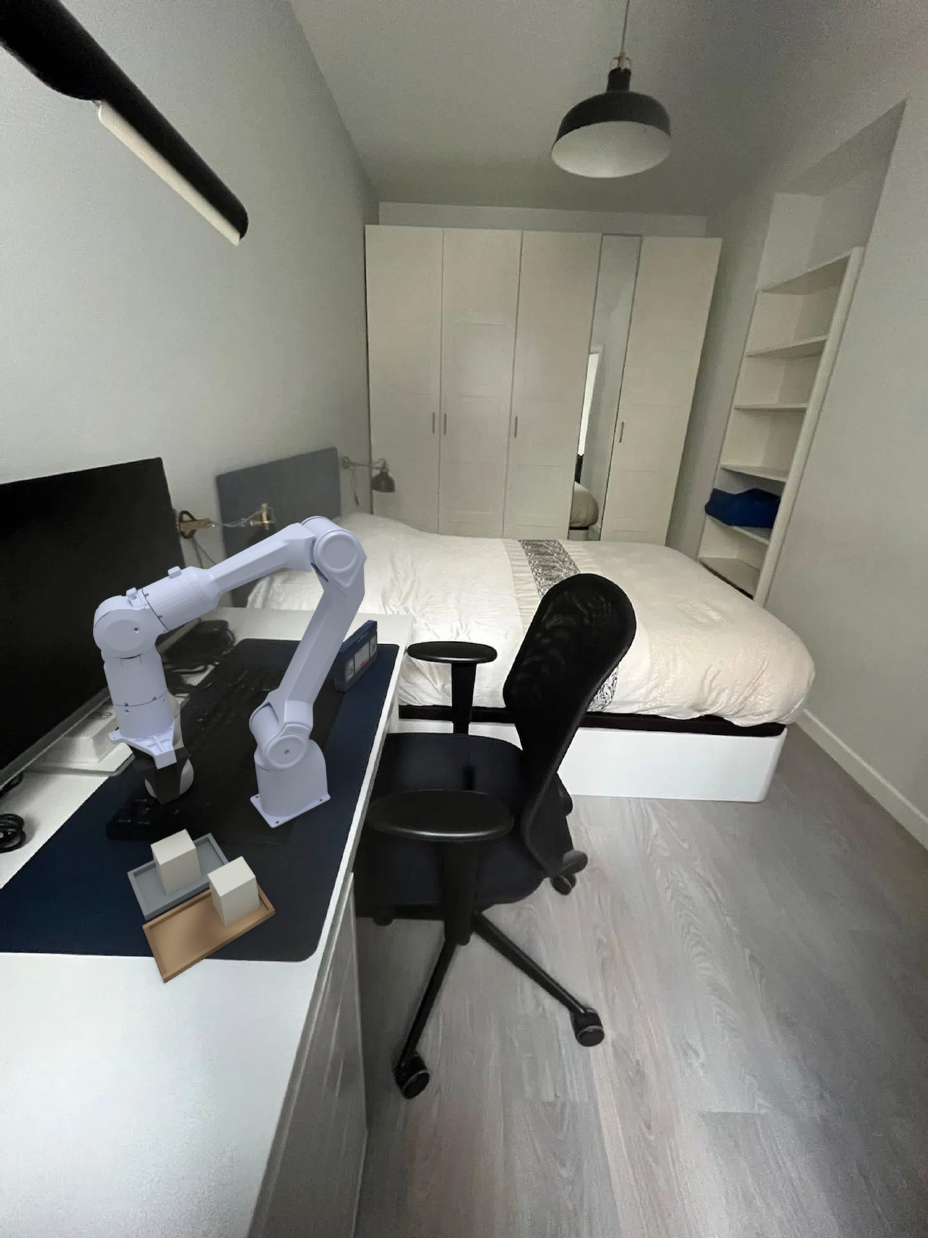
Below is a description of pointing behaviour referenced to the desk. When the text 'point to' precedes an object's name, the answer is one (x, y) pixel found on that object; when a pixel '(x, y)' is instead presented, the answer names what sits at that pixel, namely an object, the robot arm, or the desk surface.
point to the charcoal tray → (158, 901)
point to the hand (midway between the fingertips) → (160, 784)
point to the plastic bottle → (177, 743)
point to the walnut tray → (196, 932)
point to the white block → (176, 861)
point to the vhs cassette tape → (356, 655)
